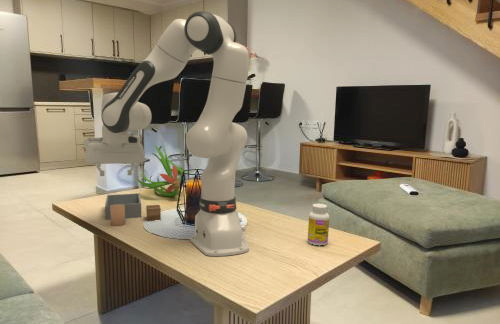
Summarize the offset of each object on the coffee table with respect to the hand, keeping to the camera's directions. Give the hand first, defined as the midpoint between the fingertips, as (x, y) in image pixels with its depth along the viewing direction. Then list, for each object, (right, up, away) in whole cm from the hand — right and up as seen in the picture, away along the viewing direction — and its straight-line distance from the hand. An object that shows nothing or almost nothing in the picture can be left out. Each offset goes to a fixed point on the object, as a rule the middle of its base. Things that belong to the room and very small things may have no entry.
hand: (116, 175), depth 134 cm
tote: (-3, -16, +17) cm, 23 cm away
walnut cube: (+11, -17, +9) cm, 23 cm away
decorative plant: (+8, -12, +47) cm, 49 cm away
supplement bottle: (+71, -22, -12) cm, 76 cm away
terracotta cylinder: (0, -18, +2) cm, 18 cm away
